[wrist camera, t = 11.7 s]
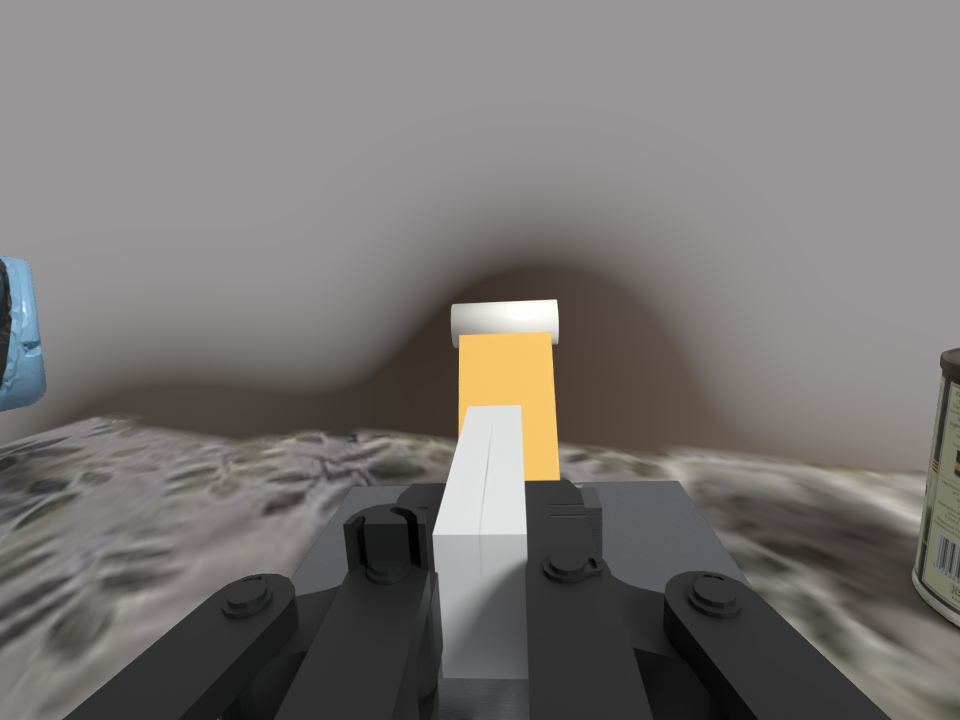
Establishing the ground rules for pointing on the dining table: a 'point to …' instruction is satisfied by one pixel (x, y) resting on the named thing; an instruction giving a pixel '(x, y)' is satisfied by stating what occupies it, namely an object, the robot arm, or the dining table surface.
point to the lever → (512, 371)
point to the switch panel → (629, 553)
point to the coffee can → (942, 502)
